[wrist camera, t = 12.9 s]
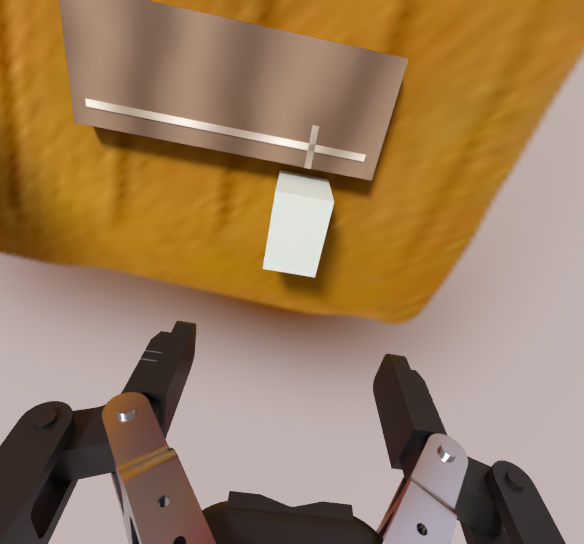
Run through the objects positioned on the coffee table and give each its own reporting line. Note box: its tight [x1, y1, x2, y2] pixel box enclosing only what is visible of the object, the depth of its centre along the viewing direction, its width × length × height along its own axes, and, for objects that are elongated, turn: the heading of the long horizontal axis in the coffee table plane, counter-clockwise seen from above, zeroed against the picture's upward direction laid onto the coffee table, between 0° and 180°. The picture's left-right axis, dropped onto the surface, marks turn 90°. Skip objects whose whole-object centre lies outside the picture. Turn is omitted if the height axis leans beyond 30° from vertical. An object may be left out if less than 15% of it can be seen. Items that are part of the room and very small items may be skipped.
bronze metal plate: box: [59, 0, 408, 181], centre depth 24 cm, size 22×8×2 cm, turn 80°
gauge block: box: [263, 170, 334, 278], centre depth 27 cm, size 4×6×6 cm, turn 170°
